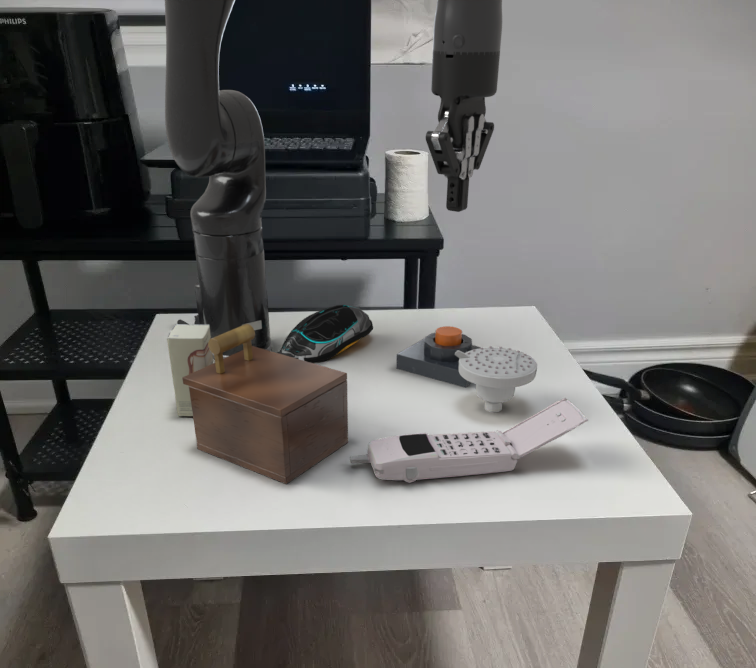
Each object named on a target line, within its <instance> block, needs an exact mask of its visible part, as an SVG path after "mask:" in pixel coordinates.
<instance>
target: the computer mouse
mask: <svg viewBox="0 0 756 668" xmlns="http://www.w3.org/2000/svg"><path fill="white" fill-rule="evenodd" d="M373 330H374V325H373V321H372V320H371V319H370V316H369V314H367V313H366V312H365V311H363V310H362V309H361V308H359V307H357V306H352V305H347V304H336V305H332V306H329V307H326V308H323V309H321V310H318V311H315V312H313V313H312V314H310V315H308V316H306V317H305V318H303V319H302V320H300V321H299V322H298V323H297V324H296V325H295V326H294V327H293V328H292V329H291V331H290V332H289V334H288V335H287V336H286V337H285V339H284V341H283V344H282V345H281V348H280V349H279V351H278V352H277V353H279V354H282V355H286V356H289V357H293V358H296V359H298V357H299V356H303V358H304V361H307V362H310V363H321V362H326V361H328V360H331V359H332V358H334V357H335V356H337V355H339V354H341V353H342V352H344V351H346V350H347V349H349V348H350V347H352V346H353V345H355V344H356V343H358V342H359V341H360V340H361V339H363V338H365V337H367V336H369V335H370V334H371V333H372V331H373Z"/></svg>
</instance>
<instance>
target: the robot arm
mask: <svg viewBox="0 0 756 668" xmlns="http://www.w3.org/2000/svg"><path fill="white" fill-rule="evenodd" d="M235 2H236V0H164V15H165V16H164V17H165V19H164V20H165V85H164V88H165V89H164V91H165V92H164V97H165V98H164V123H165V125H164V126H165V134H166V139H167V144H168V148H169V151H170V154H171V156H172V158H173V159H174V162H175V164H176V165H177V167H179V169H180V170H181V171H182V172H183V173H185V174H186V175H187V176H189V177H192V178H195V179H197V178H198V179H202V178H208V177H209V179H208V183H207V186H206V188H205V191H204V192H203V193H202V195H201V196H199V198H198V199H197V200H196V201H195V202H194V203H193V204H192V206H191V208H190V223H191V230H192V238H193V245H194V246H193V247H194V255H195V261H196V268H197V277H198V282H196V283H195V284H194V295H195V301H196V309H197V315H195V316H194V322H193V324H194V325H209V326H210V336H211V338H214V337H216V336H218V335H221V334H223V333H226V332H228V331H230V330H233V329H235V328H238V327H240V326H242V325H245V324H249V325H251V326H252V327H253V329H254V331H255V337H254V339H252V340H251V344H252V346H254V347H258V348H261V349H265V350H268V351H272V347H273V346H272V344H273V343H272V340H271V328H270V314H269V312H270V311H269V301H268V287H267V275H266V260H265V250H264V249H265V247H264V234H263V223H262V221H263V219H262V217H263V211H264V209H265V205H266V199H267V187H266V185H267V183H266V180H267V179H266V149H265V148H266V147H265V136H264V135H265V134H264V129H263V124H262V120H261V117H260V115H259V112H258V110H257V108H256V106H255V104H254V103H253V101H252V100H251V98H249V97H248V96H247V95H245V94H244V93H243V92H240V91H238V90H233V89H221V90H220V75H219V73H220V72H219V71H220V70H219V69H220V67H219V66H220V52H221V45H222V41H223V37H224V33H225V30H226V26H227V23H228V21H229V18H230V15H231V13H232V11H233V7H234V5H235ZM502 32H503V0H436V8H435V14H434V20H433V39H432V63H431V85H430V90H431V93H432V94H433V95H434V96H438V97H439V99H440V105H439V109H438V111H437V121H438V124H437V125H436V126H435V129H434V130H427V131H426V133H425V142H426V145H427V147H428V150H429V153H430V155H431V158H432V161H433V165H434V167H435V170H436V173H437V174H438V175H443V176H444V177H445V179H447V184H446V203H445V205H446V206H445V208H446V209H447V211H449V212H454V213H455V212H456V213H460V212H462V211H466V210H467V209H468V202H469V187H470V178H472V176H473V174H474V171H475V170H477V171H478V170H479V169H480V167H481V165H482V163H483V159H484V157H485V154H486V151H487V149H488V146H489V144H490V141H491V138H492V135H493V133H494V131H495V123H494V122H491V121H487V119H486V112H487V107H486V98H491V97H494V96H495V95H496V93H497V91H498V83H499V82H498V81H499V70H500V57H501V46H502V45H501V43H502V34H503V33H502ZM176 324H189V323H188V322H186V321H185V320H182V319H181V318H179V319H178V320H177V321H176ZM242 350H244V348H243V344H241V345H239V346H237V347H234V348H232V349H230V350H228V351H225V352H223V359H224V358H226V357H229V356H231V355H233V354H235V353H238V352H240V351H242ZM212 354H213V353H212ZM213 359H215V358H214V354H213Z"/></svg>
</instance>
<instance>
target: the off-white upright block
mask: <svg viewBox="0 0 756 668" xmlns="http://www.w3.org/2000/svg"><path fill="white" fill-rule="evenodd" d="M210 339H211V336H210V326H209V325H194V323H192V324H189V323H188V324H177V323H176V324H175V323H174V325H173V326H172V328H171V329H170V331H169V332H168V334H167V337H166V343H167V348H168V356H169V364H170V370H171V378H172V383H173V391H174V399H175V405H176V411H177V412H176V413H177V416H178V417H193V413H192V406H191V399H190V392H189V386H188V385H185V384H183V379H182V377H184V376H187V375H189V374H191V373H193V372H195V371H198V370H200V369H202V368H204V367H207V366H209V365H211V364H213V363H214V358H213V354H212V352H211V351H210V349H209V346H208V342H209V340H210Z"/></svg>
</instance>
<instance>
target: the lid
mask: <svg viewBox="0 0 756 668" xmlns="http://www.w3.org/2000/svg"><path fill="white" fill-rule="evenodd" d="M254 337H255V331H254V329H253V327H252V326H251V325H249V324H245V325H242V326H240V327H238V328H235V329H233V330H230V331H228V332H226V333H223V334H221V335H218V336H216V337H214V338H211V339H210V340H209V342H208V346H209V349H210V351H211V352H212V353H213V354H214V358H213V359H214V362H213V364H211V365H209V366H207V367H204V368H202V369H200V370H198V371H195V372H193V373H191V374H189V375H187V376H184V377H182V379H183V384H185V385H188V386H191V387H194V388H197V389H200V390H203V391H206V392H208V393H211V394H214V395H217V396H220V397H223V398H226V399H229V400H232V401H235V402H238V403H241V404H244V405H247V406H250V407H253V408H256V409H259V410H262V411H265V412H268V413H271V414H274V415H277V416H280V417H282V416H284V415H286V414H288V413H289V412H291V411H293V410H295V409H296V408H298V407H300V406H302V405H303V404H305V403H307V402H309V401H310V400H312V399H314V398H316V397H317V396H319V395H321V394H323V393H324V392H326V391H328V390H330V389H331V388H333V387H335V386H337V385H338V384H340V383H342V382H344V381H345V380H347V381H348V372H345V371H341V370H338V369H335V368H332V367H331V368H330V367H328V366H323V365H320V364H317V363H315V362H307V361H303V360H300V359H296V358H293V357H289V356H286V355H282V354H279V353H278V352H275V351H272V350H271V351H268V350H265V349H261V348H258V347H254V346H252V344H251V340H252V339H254ZM241 344H243V348H244V350H242V351H240V352H238V353H235V354H233V355H231V356H229V357H226V358H224V359H223V352H225V351H228V350H230V349H232V348H234V347H237V346H239V345H241Z"/></svg>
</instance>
